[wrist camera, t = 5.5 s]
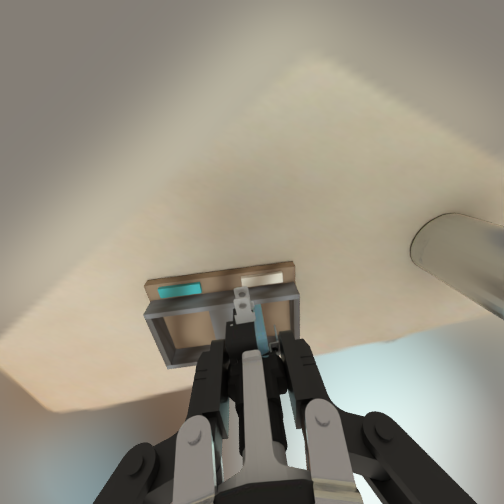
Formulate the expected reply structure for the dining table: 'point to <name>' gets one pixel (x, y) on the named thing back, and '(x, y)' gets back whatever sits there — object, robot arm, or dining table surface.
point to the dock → (217, 308)
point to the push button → (259, 414)
